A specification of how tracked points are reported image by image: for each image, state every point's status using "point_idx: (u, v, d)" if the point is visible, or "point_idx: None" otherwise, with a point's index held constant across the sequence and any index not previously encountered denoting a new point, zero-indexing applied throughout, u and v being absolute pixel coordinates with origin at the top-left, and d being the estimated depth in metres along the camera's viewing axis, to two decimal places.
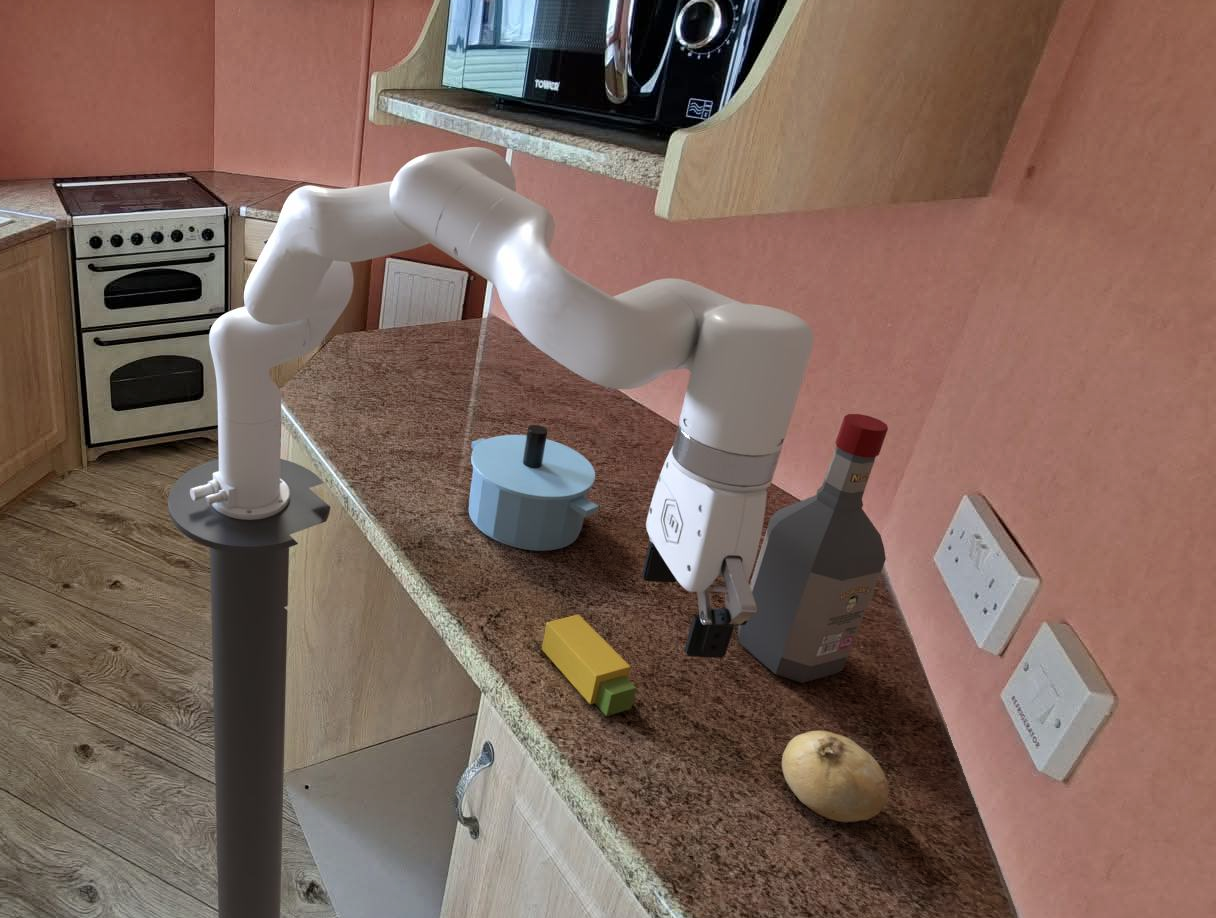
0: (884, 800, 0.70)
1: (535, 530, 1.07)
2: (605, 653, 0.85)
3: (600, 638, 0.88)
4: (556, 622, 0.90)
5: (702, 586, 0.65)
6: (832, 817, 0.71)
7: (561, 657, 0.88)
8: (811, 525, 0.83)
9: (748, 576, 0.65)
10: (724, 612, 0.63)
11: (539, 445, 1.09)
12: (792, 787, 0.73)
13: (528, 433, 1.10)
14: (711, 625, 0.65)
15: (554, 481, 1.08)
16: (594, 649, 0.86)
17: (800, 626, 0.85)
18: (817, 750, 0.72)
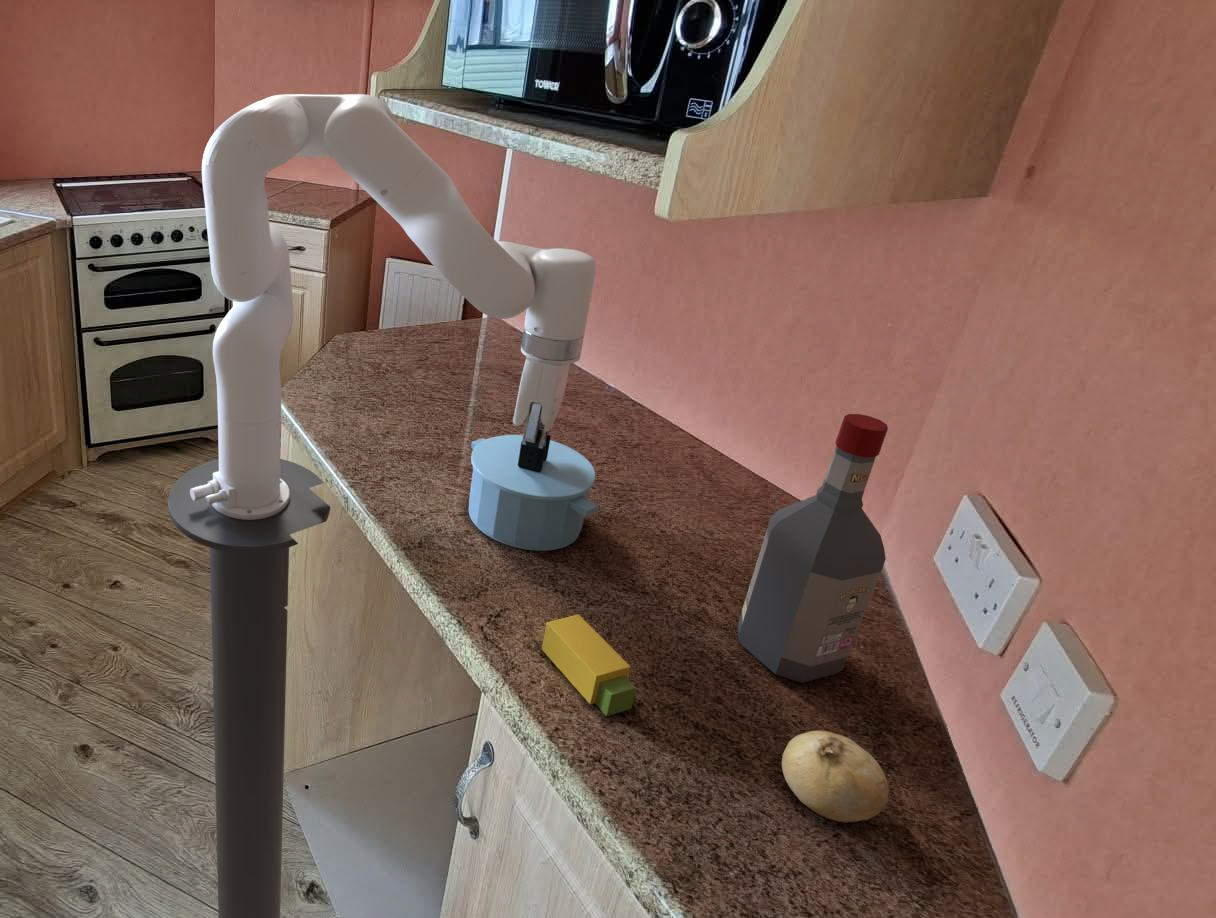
0: (884, 800, 0.70)
1: (535, 530, 1.07)
2: (605, 653, 0.85)
3: (600, 638, 0.88)
4: (556, 622, 0.90)
5: (519, 421, 1.05)
6: (832, 817, 0.71)
7: (561, 657, 0.88)
8: (811, 525, 0.83)
9: (547, 419, 1.03)
10: None
11: None
12: (792, 787, 0.73)
13: None
14: (526, 445, 1.08)
15: (554, 481, 1.08)
16: (594, 649, 0.86)
17: (800, 626, 0.85)
18: (817, 750, 0.72)
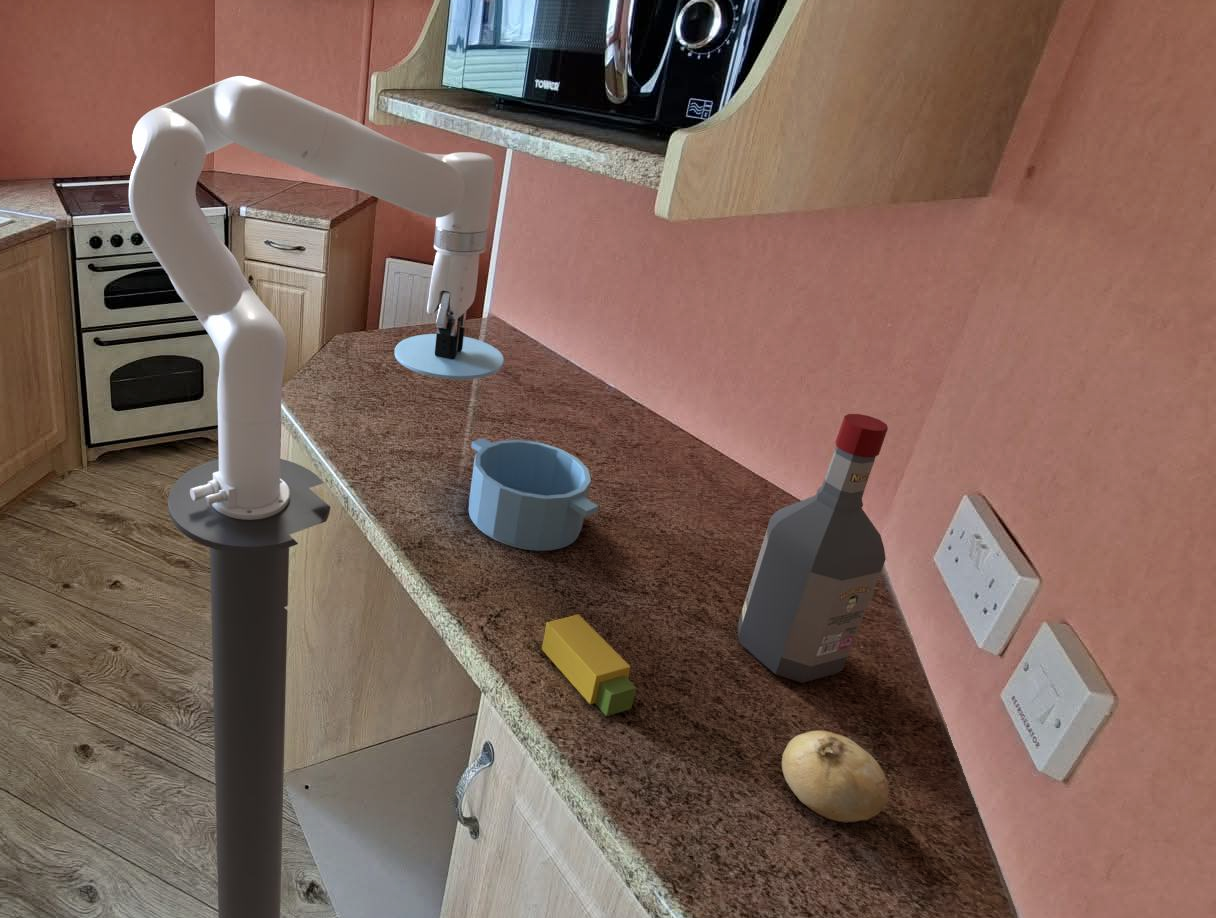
0: (884, 800, 0.70)
1: (535, 530, 1.07)
2: (605, 653, 0.85)
3: (600, 638, 0.88)
4: (556, 622, 0.90)
5: (431, 309, 1.17)
6: (832, 817, 0.71)
7: (561, 657, 0.88)
8: (811, 524, 0.83)
9: (455, 306, 1.16)
10: None
11: None
12: (792, 787, 0.73)
13: None
14: (440, 333, 1.21)
15: (465, 365, 1.20)
16: (594, 649, 0.86)
17: (800, 626, 0.85)
18: (817, 750, 0.72)
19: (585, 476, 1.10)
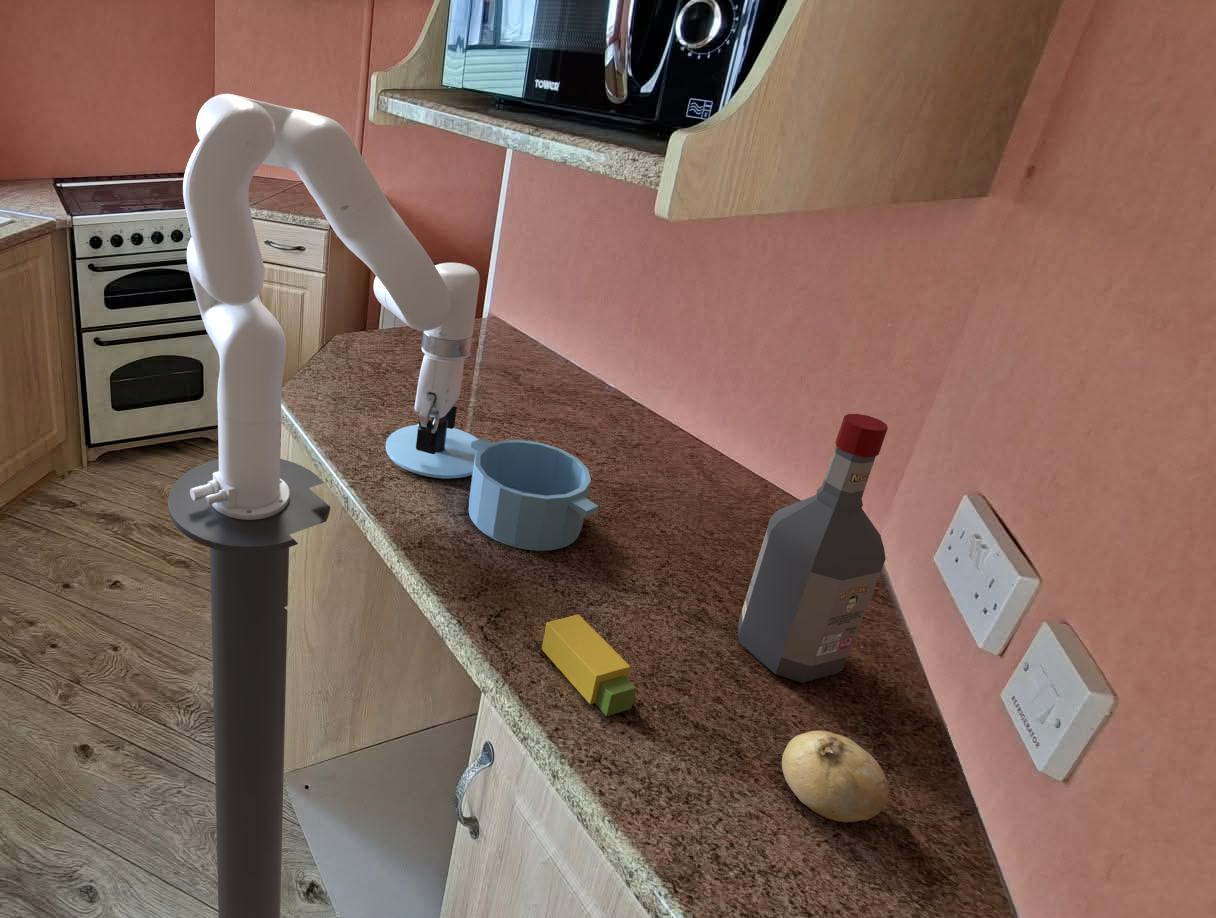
0: (884, 800, 0.70)
1: (535, 530, 1.07)
2: (605, 653, 0.85)
3: (600, 638, 0.88)
4: (556, 622, 0.90)
5: (419, 408, 1.24)
6: (832, 817, 0.71)
7: (561, 657, 0.88)
8: (811, 524, 0.83)
9: (441, 406, 1.22)
10: (420, 419, 1.22)
11: (440, 432, 1.29)
12: (792, 787, 0.73)
13: None
14: (421, 430, 1.24)
15: (452, 462, 1.27)
16: (594, 649, 0.86)
17: (800, 626, 0.85)
18: (817, 750, 0.72)
19: (585, 476, 1.10)
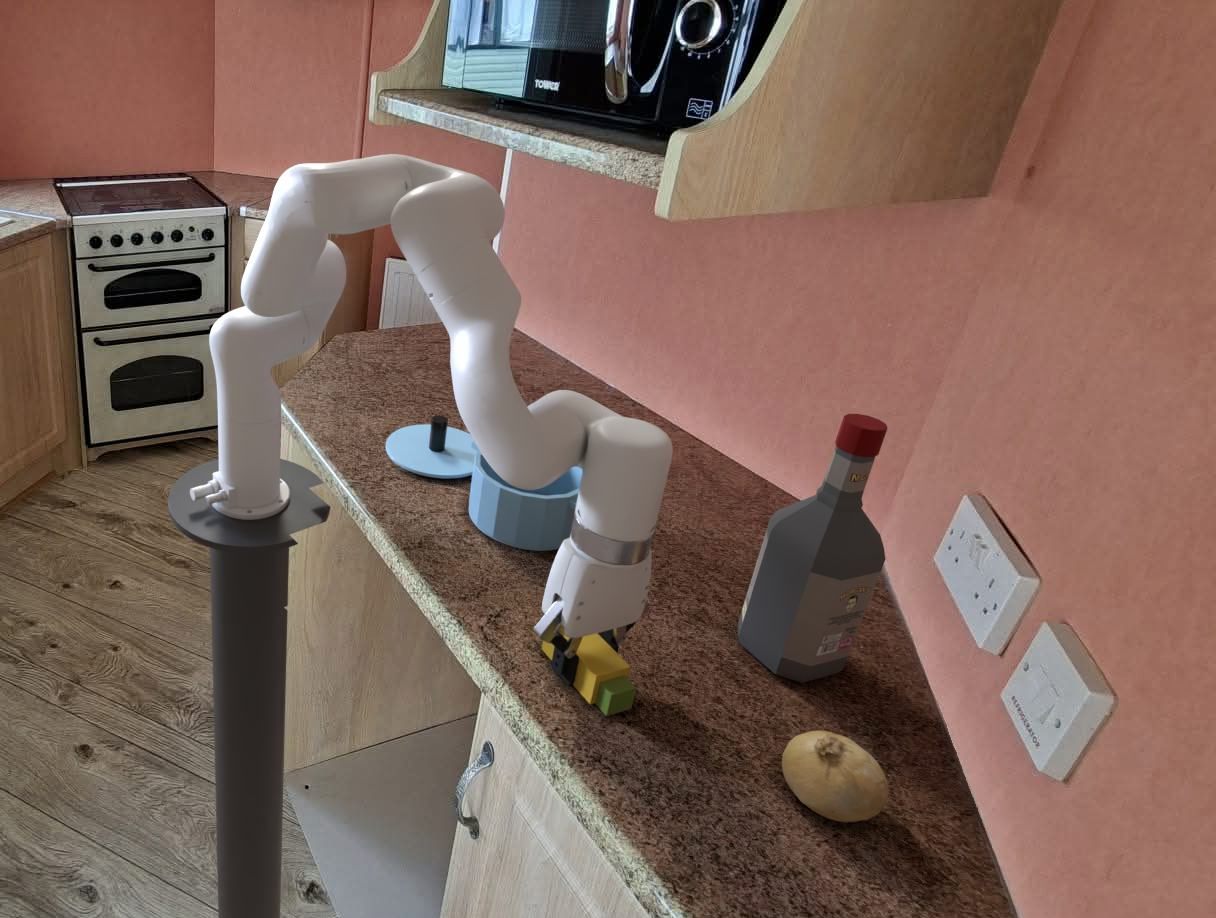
0: (884, 800, 0.70)
1: (535, 530, 1.07)
2: (605, 653, 0.85)
3: (600, 638, 0.88)
4: None
5: (544, 609, 0.85)
6: (832, 817, 0.71)
7: None
8: (811, 524, 0.83)
9: (567, 622, 0.82)
10: None
11: (440, 432, 1.29)
12: (792, 787, 0.73)
13: (431, 422, 1.29)
14: None
15: (452, 462, 1.27)
16: (594, 649, 0.86)
17: (800, 625, 0.85)
18: (817, 750, 0.72)
19: None
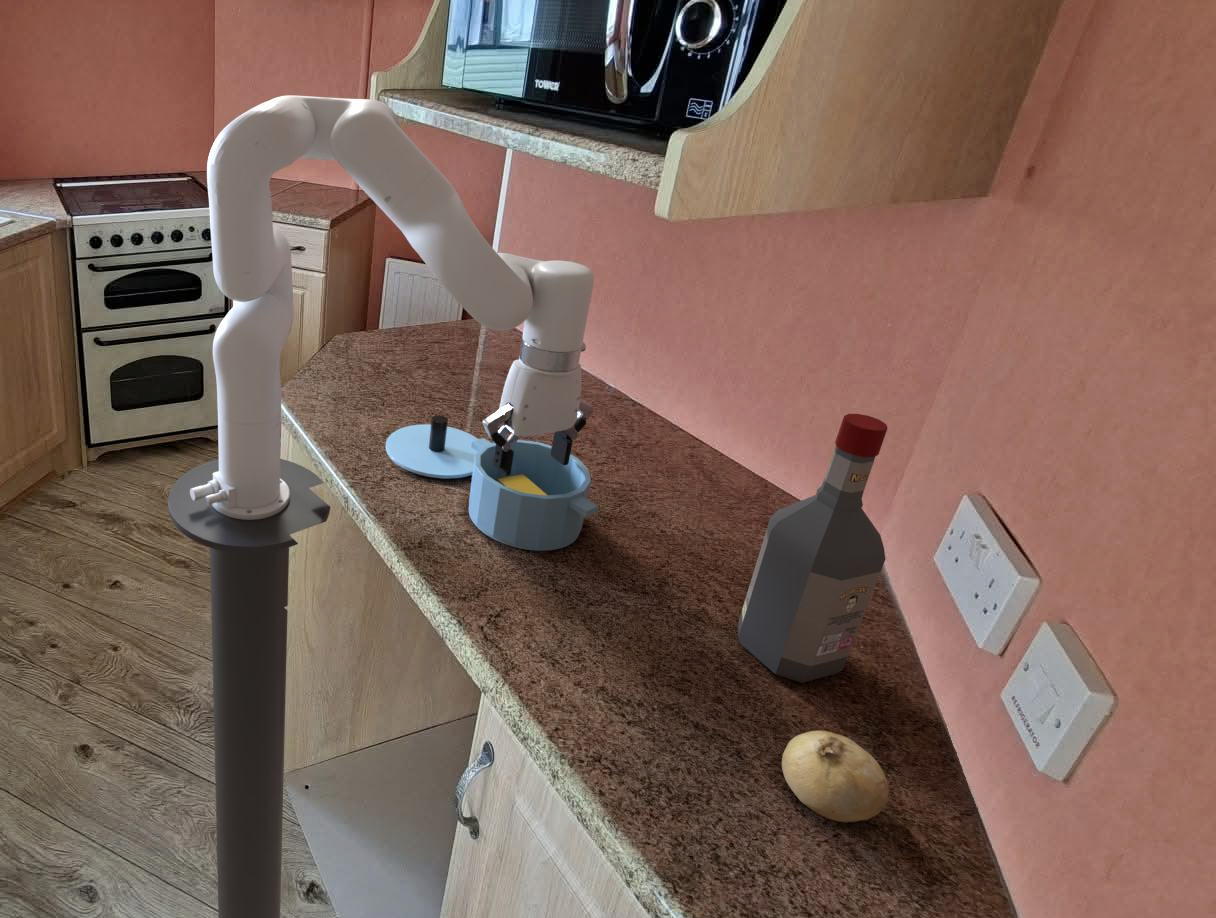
0: (884, 800, 0.70)
1: (535, 530, 1.07)
2: None
3: (537, 488, 1.14)
4: (505, 479, 1.17)
5: None
6: (832, 817, 0.71)
7: None
8: (811, 524, 0.83)
9: (516, 422, 1.06)
10: None
11: (440, 432, 1.29)
12: (792, 787, 0.73)
13: (431, 422, 1.29)
14: (495, 443, 1.09)
15: (452, 462, 1.27)
16: None
17: (800, 626, 0.85)
18: (817, 750, 0.72)
19: (585, 476, 1.10)
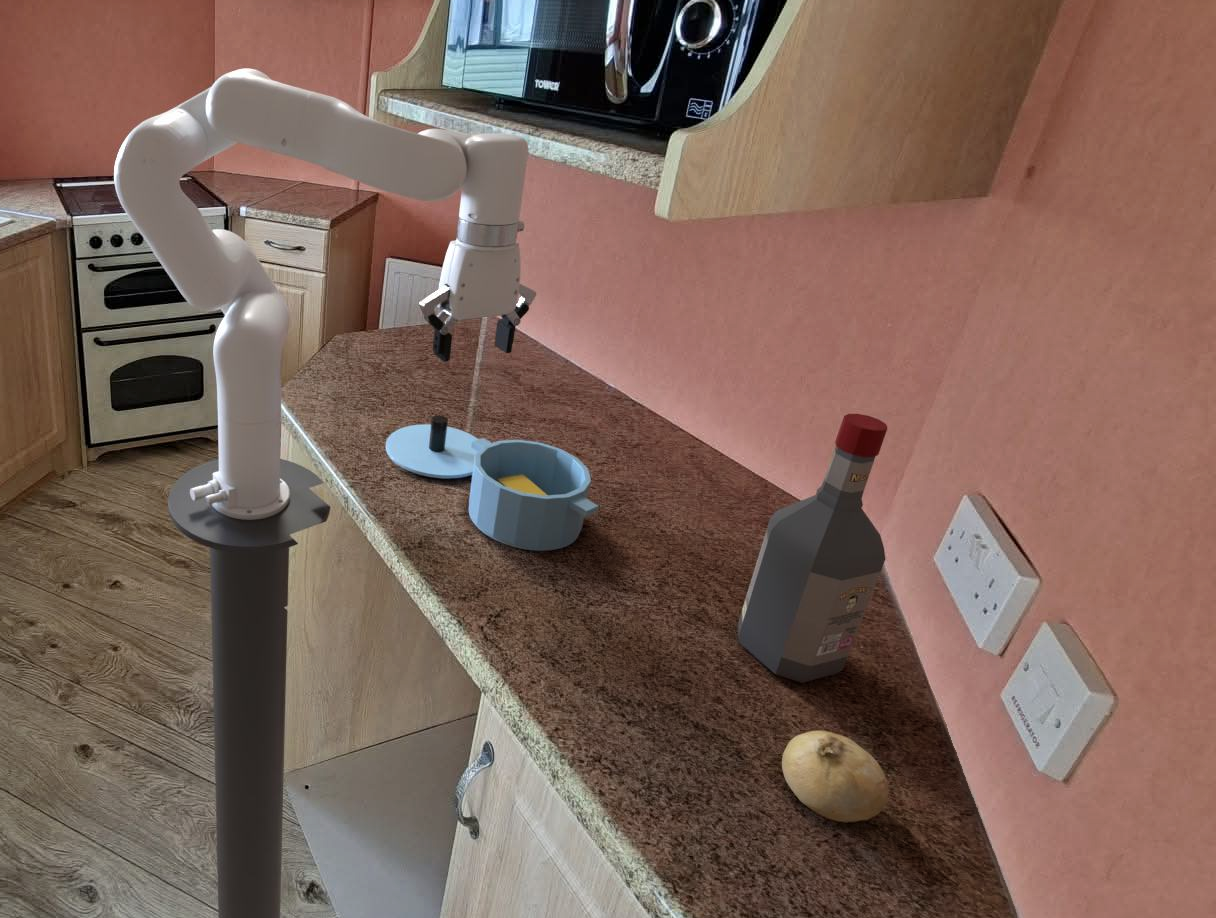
0: (884, 800, 0.70)
1: (535, 530, 1.07)
2: None
3: (537, 488, 1.14)
4: (505, 479, 1.17)
5: None
6: (832, 817, 0.71)
7: None
8: (811, 524, 0.83)
9: (453, 303, 1.03)
10: None
11: (440, 432, 1.29)
12: (792, 787, 0.73)
13: (431, 422, 1.29)
14: (434, 328, 1.07)
15: (452, 462, 1.27)
16: None
17: (800, 625, 0.85)
18: (817, 750, 0.72)
19: (585, 476, 1.10)
